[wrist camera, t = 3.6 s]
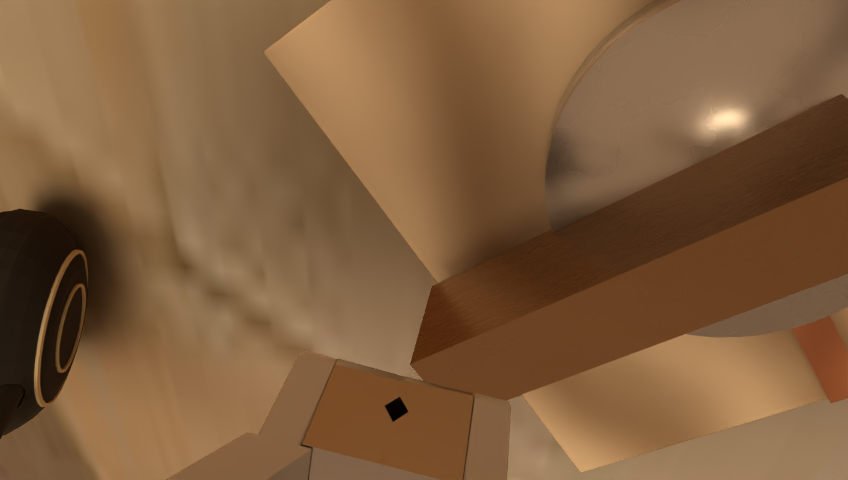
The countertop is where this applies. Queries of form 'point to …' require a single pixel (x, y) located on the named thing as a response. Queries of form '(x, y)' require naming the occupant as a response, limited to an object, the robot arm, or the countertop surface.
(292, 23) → the countertop surface
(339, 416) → the robot arm
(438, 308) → the dial
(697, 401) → the dial plate
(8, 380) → the headphones
